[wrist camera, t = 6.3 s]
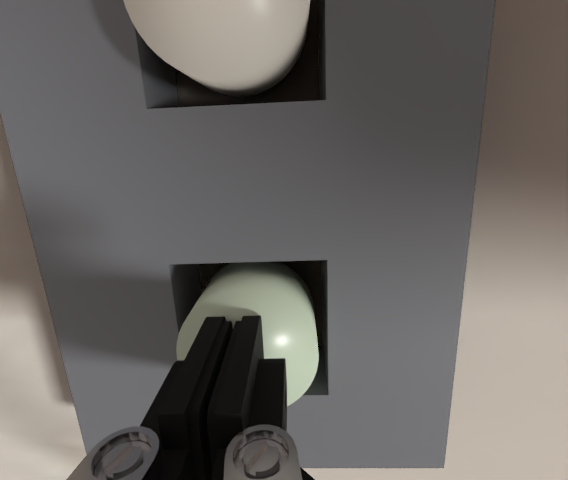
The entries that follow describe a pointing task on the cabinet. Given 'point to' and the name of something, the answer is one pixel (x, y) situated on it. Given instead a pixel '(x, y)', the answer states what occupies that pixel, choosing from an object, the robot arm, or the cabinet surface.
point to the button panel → (256, 208)
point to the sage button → (263, 316)
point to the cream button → (225, 39)
